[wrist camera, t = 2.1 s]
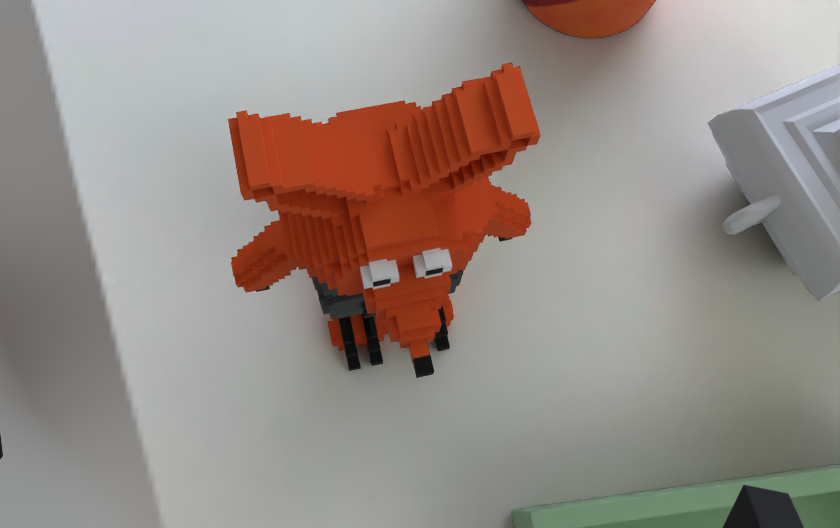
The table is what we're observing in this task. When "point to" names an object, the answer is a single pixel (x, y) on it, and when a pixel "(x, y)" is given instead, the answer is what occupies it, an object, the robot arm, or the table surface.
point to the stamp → (790, 174)
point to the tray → (693, 504)
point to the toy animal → (385, 207)
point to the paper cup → (589, 15)
